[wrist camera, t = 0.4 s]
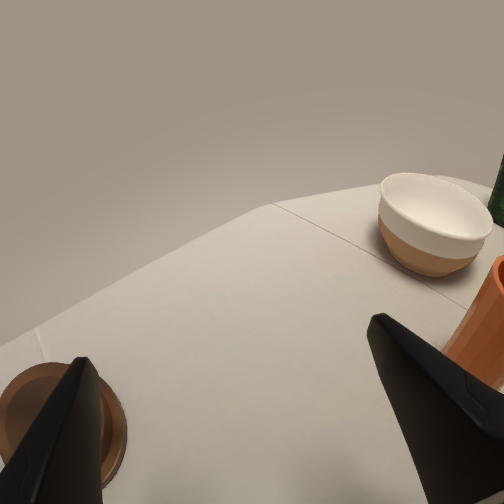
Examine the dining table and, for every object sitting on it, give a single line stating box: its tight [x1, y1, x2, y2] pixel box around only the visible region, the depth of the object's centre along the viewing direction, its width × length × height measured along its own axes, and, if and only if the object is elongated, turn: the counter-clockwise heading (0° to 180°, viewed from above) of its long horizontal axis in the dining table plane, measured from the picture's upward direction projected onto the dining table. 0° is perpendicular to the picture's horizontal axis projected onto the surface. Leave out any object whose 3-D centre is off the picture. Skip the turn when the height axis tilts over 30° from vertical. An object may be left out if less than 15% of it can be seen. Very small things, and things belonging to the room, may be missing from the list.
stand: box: [0, 362, 127, 489], centre depth 19 cm, size 14×14×3 cm
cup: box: [441, 255, 504, 391], centre depth 19 cm, size 7×7×12 cm
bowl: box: [378, 173, 493, 277], centre depth 36 cm, size 16×16×8 cm
